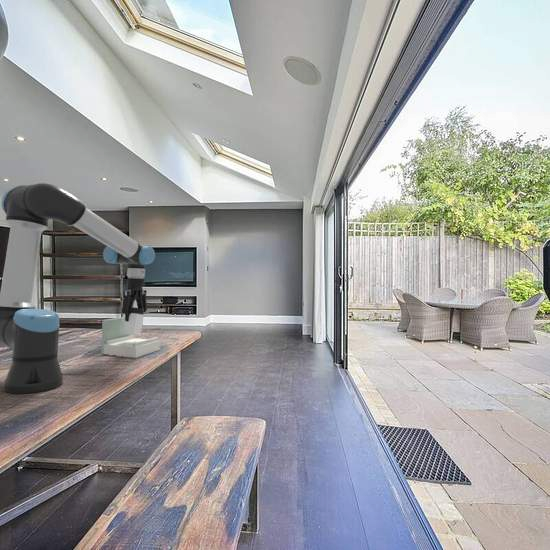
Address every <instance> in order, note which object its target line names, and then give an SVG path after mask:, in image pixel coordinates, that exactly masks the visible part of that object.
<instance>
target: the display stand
mask: <svg viewBox="0 0 550 550" xmlns="http://www.w3.org/2000/svg"><path fill="white" fill-rule="evenodd" d="M122 318H123V316H121V317H116V318H109V319H102V322H101V323H102V325H101V326H102V328H101V348H100V349H101V351H100V355H103V354H109V355H108V356H112V355H116V357H122V356H123V357H124V358H131V357H132V358H131V359H136V358H140V357H143V356H146V355H149V354H151V353H155V352H158V351H160V349H161V347H160V346H161V340H159V336H158V337H157V336H155V337H151V338H149V339H148V338H147V339H144V338H135V336H136V335H130V334H120V329H121V324H122ZM123 357H122V358H123Z"/></svg>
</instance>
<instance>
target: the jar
mask: <svg viewBox="0 0 550 550" xmlns="http://www.w3.org/2000/svg"><path fill="white" fill-rule="evenodd" d="M144 313H145V312H144V309H141V308H138V307H134V306H133V307H132V310H131V317H130V316H129V321H128V322H126V321H125V314H123V313H122V317H123V318H122V324H121V329H120V334H130V335H135V336H141V334H142V328H143V327H142V323H143V324H144V316H145V315H144Z"/></svg>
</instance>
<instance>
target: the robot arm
mask: <svg viewBox="0 0 550 550" xmlns="http://www.w3.org/2000/svg"><path fill="white" fill-rule="evenodd" d="M1 208H2V211H4V214H5V215H6V216H5V223H6V224H7V225H8V226H9V227H10V229H9V236H8V242H7V247H6V254H5V255H6V256H5V261H4V267H3V274H2V279H1V280H2V281H1V286H0V347H1V348H8V349H9V348H11V349H12V354H11V355H12V357H11V358H12V359H11V361H12V362H11V365H10V367H9V369H8V371H7V372H8V373H7V375H6V378H5V380H4V381H3V391H4V392H5V393H9V394H32V393H39V392H44V391H49V390H51V389H56V388H58V387H60V386H62V384H63V383H64V375H63V372H62V370H61V367H60V363H59V359H58V356H59V355H58V354H59V353H58V352H59V338H60V337H59V336H60V335H59V332H60V326H61V325H60V316H59V314H58V313H57V312H56V311H53V310H50V309H46V308H45V309H41V308H37V306H36V305H35V304H34V303H33V302H32V301H33V300H32V298H33V293H34V292H33V291H34V284H35V280H36V279H35V278H36V273H37V271H36V270H37V265H38V258H39V251H40V244H41V236H42V233H43V232H45V230H48V227H49V220H53V221H56V222H60V223H62V224H63V225H65V226H68V227H72V226H73V227H75V228H77V229H78V230H80V231H81V232H83V233H85V234H86V235H88V236H90V237H91V238H93V239H95V240H96V241H98V242H100V243H102V244H103V245H105V246H106V247H105V248H104V249H103V256H102V257H103V260H104V261H105V263H108V264H115V265H127V270H126V271H127V272H126V273H127V274H126V276H127V280H126V286H127V287H128V290H123V293H122V294H123V299H122V300H123V301H122V306H121V313H122V315H123V314H125V321H126V322H128V321H129V316H130V317H131V310H132V307H134V304H135V303H136V308H141V309H144V313H147V310H148V309H147V307H148V306H147V304H148V303H147V292H148V291H147V290H146V289H143V287H145V284H146V283H145V282H146V281H145V276H146V265H150V264H152V263H153V262H154V261H155V259H156V253H155V250H154V248H153V247H152V246H149V245H145V244H141V243H139V242H137V241H136V240H134V239H133V238H131V237H130V236H128V235H127V234H125V233H124V232H122V231H121V230H120V229H118V228H117V227H115V226H113V224H111V223H109V222H108V221H106V220H105V219H103V218H102V217H100V216H99V215H98V214H96V213H94V212H93V211H92V210H90V209H89V208H87V205H86V203H85V202H83V201H82V200H81V199H79V198H78V197H76V195H75V196H74V195H73V194H72V193H70V192H68V191H66V190H65V189H64V188H63V189H62V188H61V187H59V186H56V185H54V184H50V183H46V182H45V183H44V182H43V183H42V182H40V183H39V182H38V183H35V184H33V183H32V184H27V185H26V184H25V185H18V186H15V187H13V188H10V189H8V190H7V191H6V192H5V193H4V194H3V196H2V198H1ZM135 301H136V302H135ZM143 325H144V322H143V323H142V328H143Z"/></svg>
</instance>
